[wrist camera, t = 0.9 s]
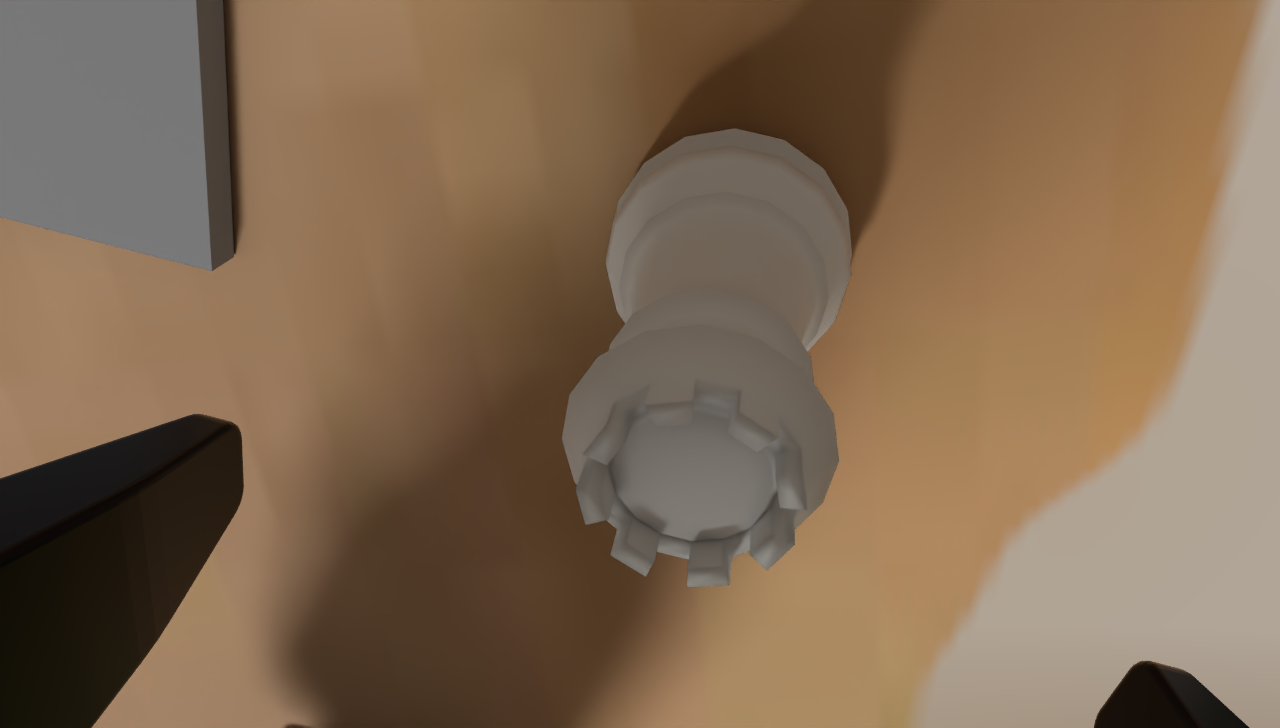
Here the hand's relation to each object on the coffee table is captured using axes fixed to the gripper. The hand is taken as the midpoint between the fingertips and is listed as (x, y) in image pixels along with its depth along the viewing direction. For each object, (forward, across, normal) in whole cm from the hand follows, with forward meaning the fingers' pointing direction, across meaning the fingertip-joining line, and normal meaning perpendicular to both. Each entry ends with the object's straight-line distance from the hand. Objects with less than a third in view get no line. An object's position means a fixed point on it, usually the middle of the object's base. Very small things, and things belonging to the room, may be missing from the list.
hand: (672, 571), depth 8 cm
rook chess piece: (+9, 0, 0) cm, 9 cm away
